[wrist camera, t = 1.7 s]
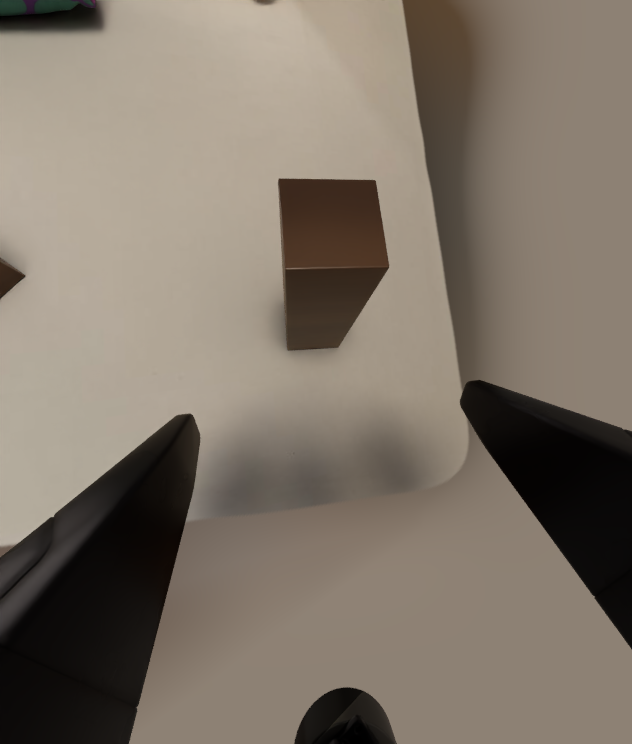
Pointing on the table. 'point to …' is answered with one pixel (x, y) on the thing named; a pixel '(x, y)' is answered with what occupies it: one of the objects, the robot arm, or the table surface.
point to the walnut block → (8, 277)
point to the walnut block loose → (328, 256)
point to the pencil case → (39, 6)
